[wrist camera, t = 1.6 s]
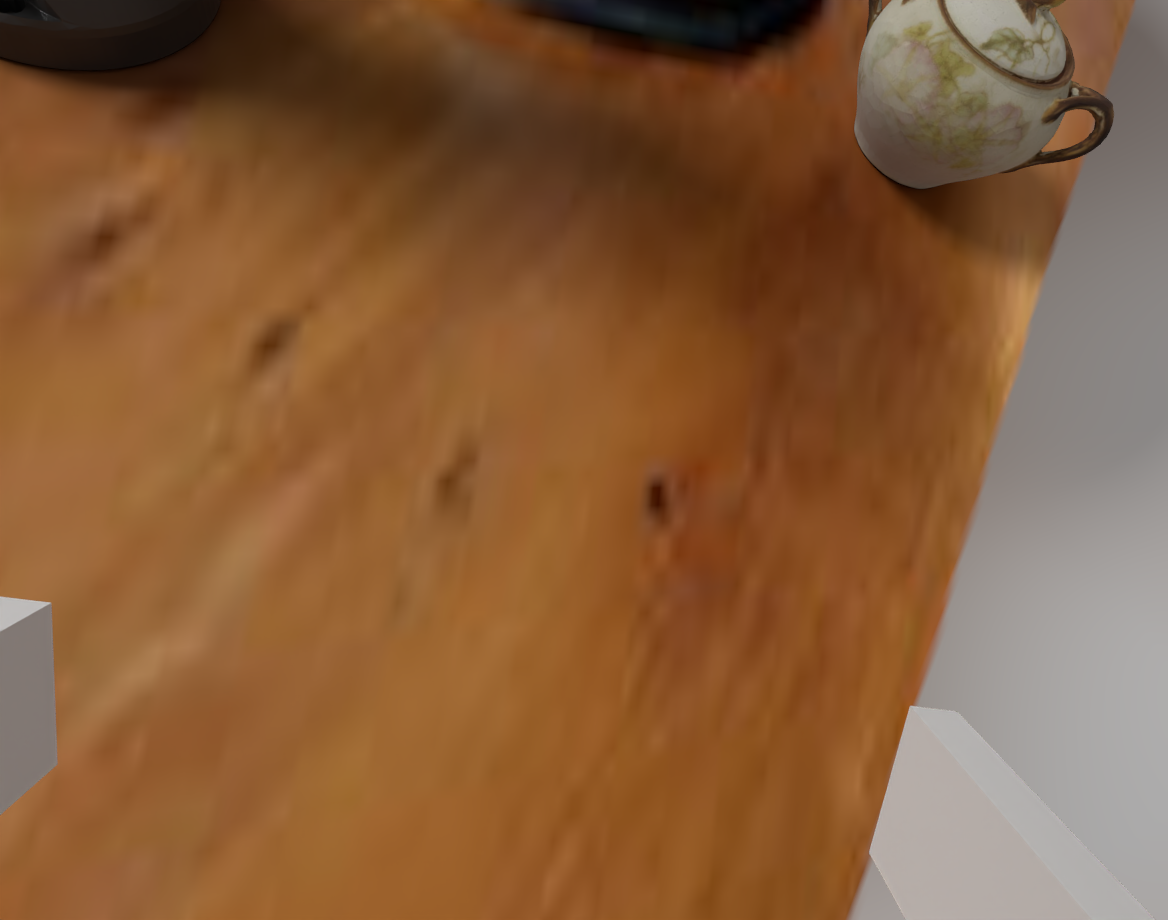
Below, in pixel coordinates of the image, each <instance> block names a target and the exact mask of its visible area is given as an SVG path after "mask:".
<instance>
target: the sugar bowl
mask: <svg viewBox="0 0 1168 920" xmlns="http://www.w3.org/2000/svg"><path fill="white" fill-rule="evenodd" d="M1064 1H1065V0H892V1H891V2H890V3H889V4H888V5H887V6H886V7H885V9H884V10H882V0H869V18H868V24H867V34H866V40H865V43H864V46H863V49H862V53H861V58H860V63H859V70H858V81H857V114H856V119H855V125H854V131H855V136H856V139H857V141H858V144H859V146H860V148H861V150H862V151H863V153H864V154H865V156H866V157H867V158H868V159H869V161H870V162H871V163H872V164H873V165H874V166H875V167H876V168H877V169H879V170H880V171H881V172H882V173H883V174H885V175H886V176H888V177H889V178H891V179H892V180H894V181H896V182H898V183H900V184H903V185H906V186H909V187H913V188H918V189H926V188H931V187H935V186H939V185H943V184H947V183H953V182H959V181H965V180H971V179H976V178H980V177H985V176H989V175H993V174H996V173H1008V172H1013V171H1016V170H1019V169H1021V168H1024V167H1029V166H1033V165H1038V164H1046V163H1054V162H1061V161H1066V160H1070V159H1075V158H1078V157H1080V156H1083V155H1085V154H1087V153H1089V152H1090V151H1092V150H1093V149H1095V148H1096V147H1097V146H1099V145H1100V144H1101V143H1102V141H1103V140H1104V139H1105V138H1106V137H1107V135H1108V133H1109V132H1110V129H1111V126H1112V123H1113V118H1114V111H1113V105H1112V103H1111V102H1110V101H1109V100H1108V99H1107V98H1105V97H1104V96H1102V95H1101V94H1099V93H1098V92H1096V91H1094V90H1092V89H1090V88H1087V87H1083V86H1080V85H1079V84H1078V83H1076V82H1073V81H1071V78H1072V76H1073V72H1074V69H1075V62H1074V57H1073V53H1072V49H1071V47H1070V44H1069V42H1068V39H1067V37H1066V36H1065V34H1064V33H1063V32H1062V30H1061V27H1060V26H1059V24H1058V22H1057V20H1056V19H1055V17H1054V15H1053V14H1052V13H1051V12H1050V11H1049V9H1051V8H1053V7H1057V6H1059V5H1060V4H1062V3H1063V2H1064ZM1074 109H1084V110H1088V111H1089V112H1090V113H1091V114H1092V115H1093V117H1094V119H1095V127H1094V130H1093V132H1092V133H1090V134H1089V136H1088V137H1087V138H1086V139H1085V140H1083V141H1082V142H1080V143H1078V144H1076V145H1074V146H1072V147H1069V148H1066V149H1061V150H1057V151H1050V152H1042V151H1041V149H1042V148H1043V147H1044V146H1045V145H1046V144H1047V143H1048V142H1049V141H1050V140H1051V138H1052V137H1053V136H1054V134H1055V132H1056V131H1057V129H1058V127H1059V125H1060V123H1061V121H1062V118H1063V116H1064V114H1065V112H1067V111H1070V110H1074Z"/></svg>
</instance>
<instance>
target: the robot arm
mask: <svg viewBox="0 0 1168 920" xmlns="http://www.w3.org/2000/svg"><path fill="white" fill-rule="evenodd" d="M220 2H221V0H0V57H3V58H7V59H10V60H14V61H18V62H22V63H26V64H31V65H36V66H42V67H48V68H57V69H68V70H106V69H116V68H124V67H130V66H135V65H139V64H144V63H147V62H151V61H154V60H157V59H160V58H162V57H165V56H168V55H170V54H172V53H174V52H176V51H178V50H180V49H182V48H183V47H185V46H187V45H188V44H190V43H191V42H192V41H194V40H195V39H196V38H198V37H199V36H200V35H201V34H202V33H203V32H204V31H205V30H206V28H207V27H208V26H209V25H210V23H211V22H212V21H213V19H214V17H215V15H216V13H217V11H218V9H219V6H220ZM56 765H57V739H56V713H55V687H54V660H53V634H52V607H51V603H49V602H40V601H32V600H24V599H15V598H7V597H0V815H1V814H2V813H3V812H4V811H5V810H6V809H7V808H9V807H10V806H11V805H12V804H13V803H14V802H15V801H17V800H18V799H19V798H20V797H21V796H22V795H23V794H24V793H26V792H27V791H28V790H29V789H30V788H31V787H32V786H33V785H35V784H36V783H37V782H38V781H39V780H40V779H41V778H43V777H44V776H45V775H46V774H47V773H48V772H49V771H50V770H52V769H53V768H54V767H55V766H56ZM869 854H870V855H871V857H872V859H873V861H874V863H875V864H876V866H877V868H878V870H879V872H880V874H881V875H882V877H883V879H884V881H885V883H886V885H887V887H888V888H889V890H890V892H891V894H892V896H893V898H894V899H895V901H896V903H897V905H898V907H899V909H900V911H901V912H902V914H903V916H904V918H905V919H906V920H1156V919H1155V918H1154V917H1152V915H1151V914H1150V913H1149V912H1148V911H1147V910H1146V909H1145V908H1144V907H1143V906H1142V905H1141V904H1140V903H1139V902H1138V901H1137V900H1136V899H1135V897H1133V895H1132V894H1131V893H1130V892H1129V891H1128V890H1127V889H1126V888H1125V887H1124V886H1123V885H1122V884H1121V883H1120V882H1119V881H1118V880H1117V879H1116V878H1115V877H1114V875H1113V874H1112V873H1111V872H1110V871H1109V870H1108V869H1107V868H1106V867H1105V866H1104V865H1103V864H1102V863H1101V862H1100V861H1099V860H1098V859H1097V858H1096V857H1095V855H1093V853H1092V852H1091V851H1090V850H1089V849H1088V848H1087V847H1086V846H1085V845H1084V844H1083V843H1082V842H1081V841H1080V840H1079V839H1078V838H1077V837H1076V836H1075V835H1074V834H1073V833H1072V831H1071V830H1070V829H1069V828H1068V827H1067V826H1066V825H1065V824H1064V823H1063V822H1062V821H1061V820H1060V819H1059V818H1058V817H1057V816H1056V815H1055V814H1054V812H1053V811H1052V810H1051V809H1050V808H1049V807H1048V806H1047V805H1046V804H1045V803H1044V802H1043V801H1042V800H1041V799H1040V798H1039V797H1038V796H1037V795H1036V794H1035V793H1034V792H1033V791H1032V789H1031V788H1030V787H1029V786H1028V785H1027V784H1026V783H1025V782H1024V781H1023V780H1022V779H1021V778H1020V777H1019V776H1018V775H1017V774H1016V773H1015V772H1014V771H1013V770H1012V768H1010V766H1009V765H1008V764H1007V763H1006V762H1005V761H1003V759H1002V758H1001V757H1000V756H999V755H998V754H997V753H996V752H995V751H994V750H993V749H992V747H991V746H990V745H989V744H988V743H987V742H986V741H985V740H984V739H983V738H982V737H981V736H980V735H979V734H978V733H977V732H976V731H975V730H974V729H973V728H972V727H971V725H969V723H968V722H967V721H966V720H965V719H964V718H963V717H962V716H961V715H960V714H959V713H958V712H957V711H949V710H941V709H933V708H924V707H916V706H910V708H909V712H908V715H907V719H906V722H905V726H904V729H903V733H902V737H901V740H900V744H899V747H898V751H897V755H896V758H895V762H894V765H893V769H892V772H891V776H890V780H889V783H888V787H887V790H886V794H885V797H884V801H883V805H882V808H881V812H880V815H879V819H878V822H877V826H876V830H875V833H874V837H873V840H872V844H871V847H870V851H869Z"/></svg>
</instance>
